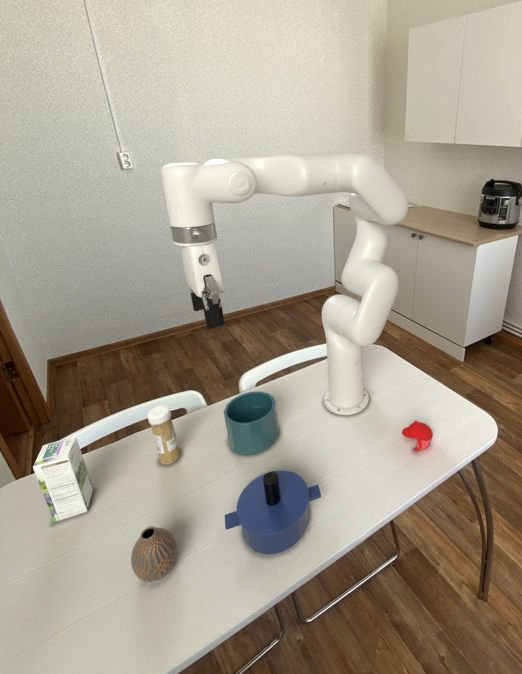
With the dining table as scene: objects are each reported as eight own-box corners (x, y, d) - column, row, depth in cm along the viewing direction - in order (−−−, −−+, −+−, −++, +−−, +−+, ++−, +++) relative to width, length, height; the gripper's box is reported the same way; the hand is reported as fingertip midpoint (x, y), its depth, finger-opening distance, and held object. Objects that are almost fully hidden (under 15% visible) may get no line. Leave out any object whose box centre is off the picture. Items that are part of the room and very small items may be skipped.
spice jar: (182, 459, 89) (171, 412, 84) (160, 468, 86) (148, 421, 82) (178, 447, 92) (168, 401, 88) (158, 455, 90) (145, 409, 85)
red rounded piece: (419, 430, 96) (420, 410, 94) (437, 443, 92) (438, 423, 90) (396, 445, 92) (396, 425, 90) (414, 460, 87) (415, 439, 85)
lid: (234, 486, 76) (230, 461, 74) (300, 466, 80) (298, 441, 78) (240, 550, 64) (235, 522, 62) (317, 522, 69) (315, 495, 66)
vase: (134, 597, 62) (121, 561, 59) (138, 557, 68) (127, 522, 65) (180, 578, 65) (170, 543, 62) (180, 541, 71) (171, 507, 68)
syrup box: (62, 499, 79) (40, 444, 74) (95, 489, 82) (76, 435, 76) (53, 523, 75) (29, 466, 69) (89, 511, 77) (68, 456, 72)
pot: (247, 415, 102) (243, 387, 99) (287, 425, 99) (284, 396, 96) (218, 448, 92) (212, 418, 89) (261, 460, 88) (257, 429, 85)
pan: (226, 509, 77) (222, 489, 75) (313, 482, 82) (311, 462, 81) (230, 571, 66) (225, 549, 64) (329, 534, 72) (328, 513, 70)
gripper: (230, 239, 65) (242, 328, 71) (203, 222, 79) (215, 299, 85) (183, 246, 61) (200, 340, 67) (163, 228, 74) (178, 307, 80)
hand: (208, 317), depth 76 cm, fingers open, 9 cm apart
